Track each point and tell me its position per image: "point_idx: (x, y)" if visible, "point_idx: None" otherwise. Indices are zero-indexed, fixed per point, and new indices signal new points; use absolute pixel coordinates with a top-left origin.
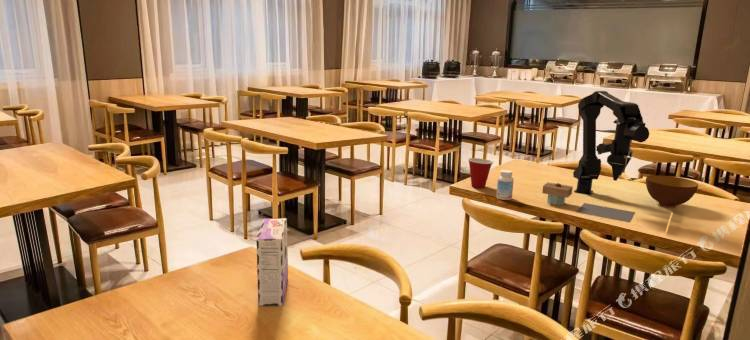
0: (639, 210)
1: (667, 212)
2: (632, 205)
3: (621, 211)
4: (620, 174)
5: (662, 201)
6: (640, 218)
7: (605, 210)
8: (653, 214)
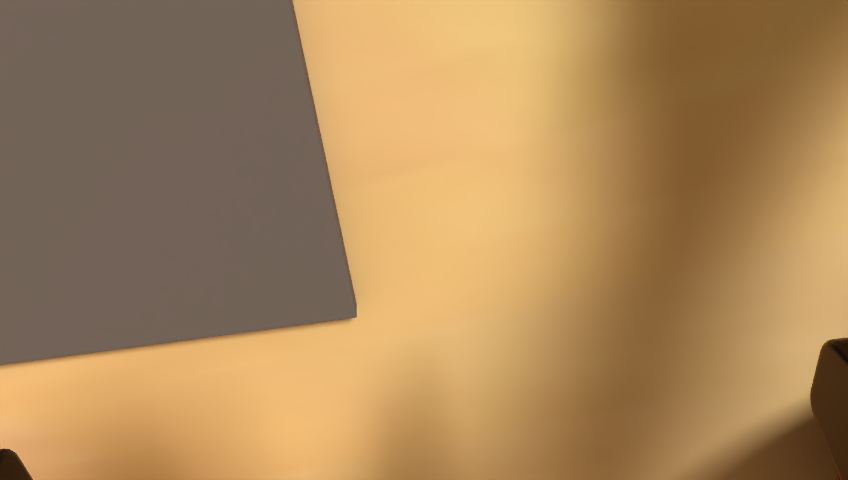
0: (549, 298)
1: (667, 471)
2: (738, 187)
3: (238, 202)
4: (834, 432)
5: (838, 475)
6: (223, 379)
7: (66, 23)
8: (493, 418)
